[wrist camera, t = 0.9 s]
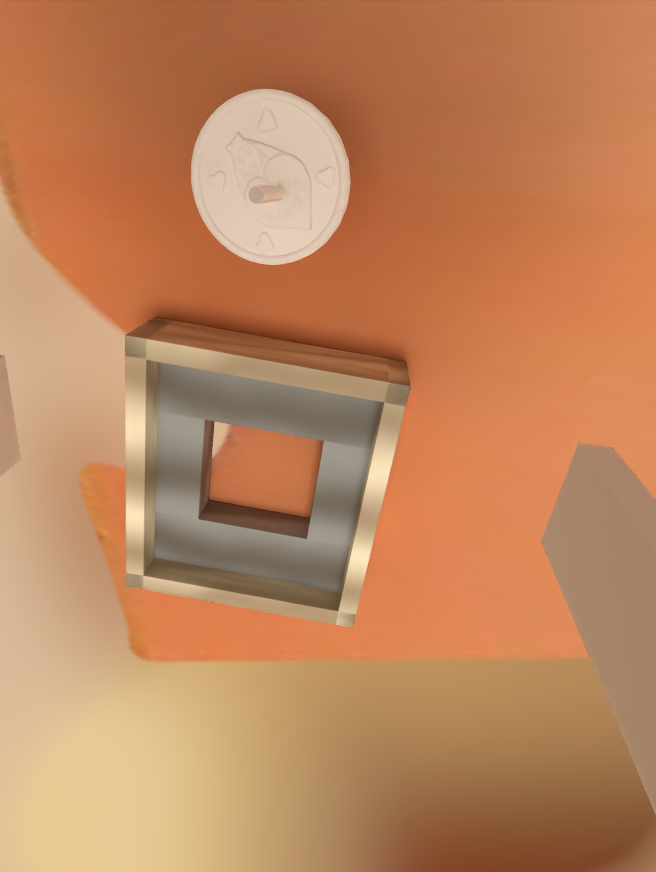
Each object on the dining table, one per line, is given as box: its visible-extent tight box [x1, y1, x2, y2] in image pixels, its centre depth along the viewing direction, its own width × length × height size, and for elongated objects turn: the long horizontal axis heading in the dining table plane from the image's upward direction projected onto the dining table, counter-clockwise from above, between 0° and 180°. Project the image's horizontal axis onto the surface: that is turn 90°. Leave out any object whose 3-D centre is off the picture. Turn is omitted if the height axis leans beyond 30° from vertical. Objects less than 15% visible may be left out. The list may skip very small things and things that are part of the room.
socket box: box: [125, 317, 410, 628], centre depth 36 cm, size 18×16×4 cm
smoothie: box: [191, 89, 351, 265], centre depth 24 cm, size 6×6×14 cm
